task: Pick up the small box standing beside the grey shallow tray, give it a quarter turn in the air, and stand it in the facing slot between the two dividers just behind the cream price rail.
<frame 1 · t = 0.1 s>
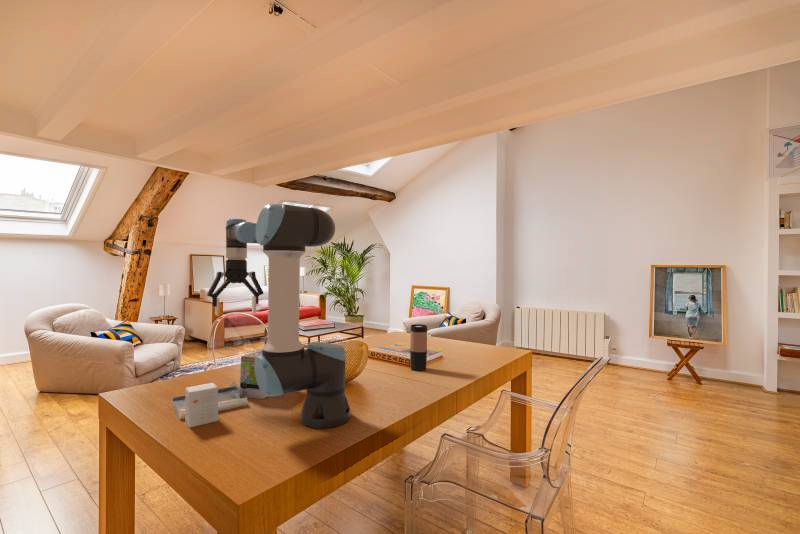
hand: (236, 313, 149), 28 cm above the table, fingers open, 13 cm apart
tea box: (263, 392, 143), on the table
small box: (201, 422, 116), on the table
travel mug: (418, 369, 176), on the table
grey shallow tray: (209, 405, 129), on the table
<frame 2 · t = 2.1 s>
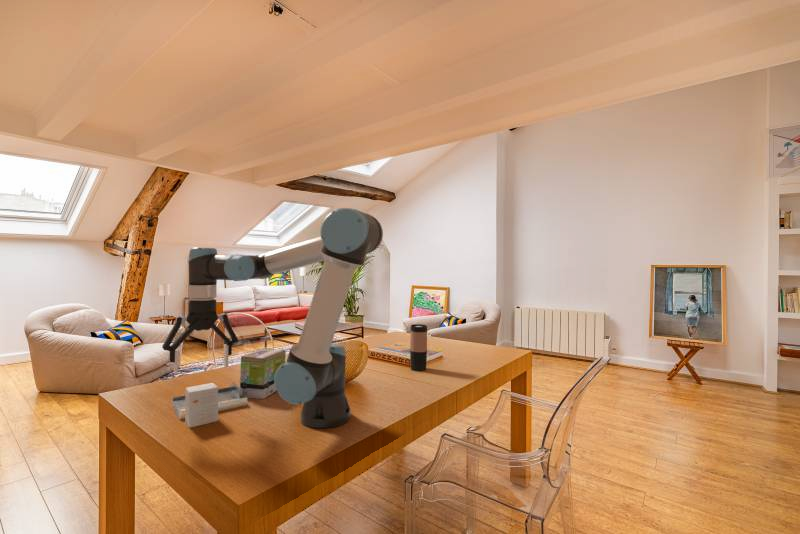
hand: (201, 369, 116), 16 cm above the table, fingers open, 13 cm apart
nothing on the table moved.
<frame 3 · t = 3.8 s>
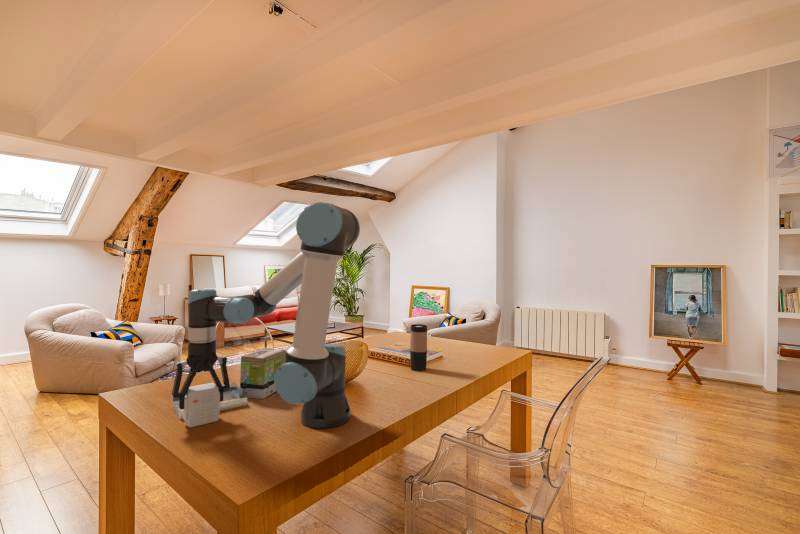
hand: (201, 415, 116), 2 cm above the table, fingers closed on small box, 8 cm apart
small box: (201, 422, 116), on the table, touching gripper
everything else where it was.
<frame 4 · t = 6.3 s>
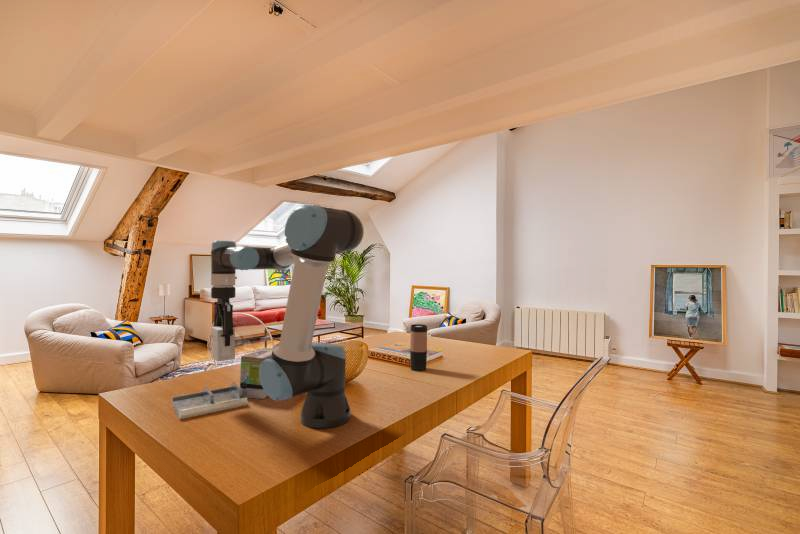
hand: (222, 353, 131), 17 cm above the table, fingers closed on small box, 8 cm apart
small box: (222, 359, 131), point 15 cm above the table, touching gripper
everything else where it was.
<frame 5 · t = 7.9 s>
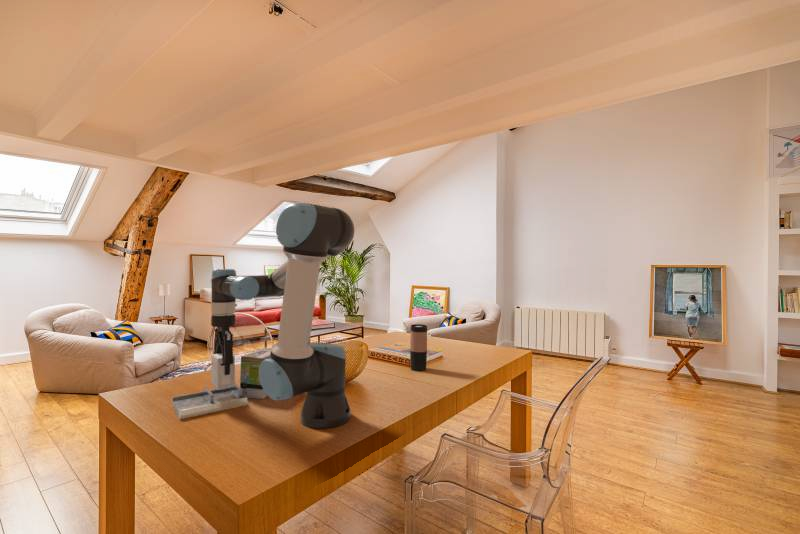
hand: (222, 380, 131), 8 cm above the table, fingers closed on small box, 8 cm apart
small box: (222, 386, 131), point 6 cm above the table, touching gripper
everything else where it was.
when the fingers open (5 cm above the table, at t = 8.9 s): small box drops 1 cm, resting on grey shallow tray.
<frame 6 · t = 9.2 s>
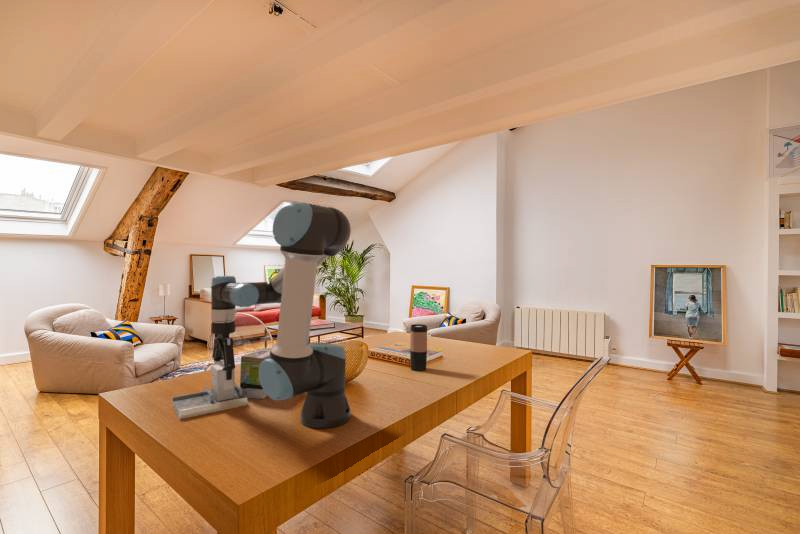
hand: (222, 384, 131), 6 cm above the table, fingers open, 12 cm apart
small box: (222, 397, 132), point 2 cm above the table, touching grey shallow tray
everything else where it was.
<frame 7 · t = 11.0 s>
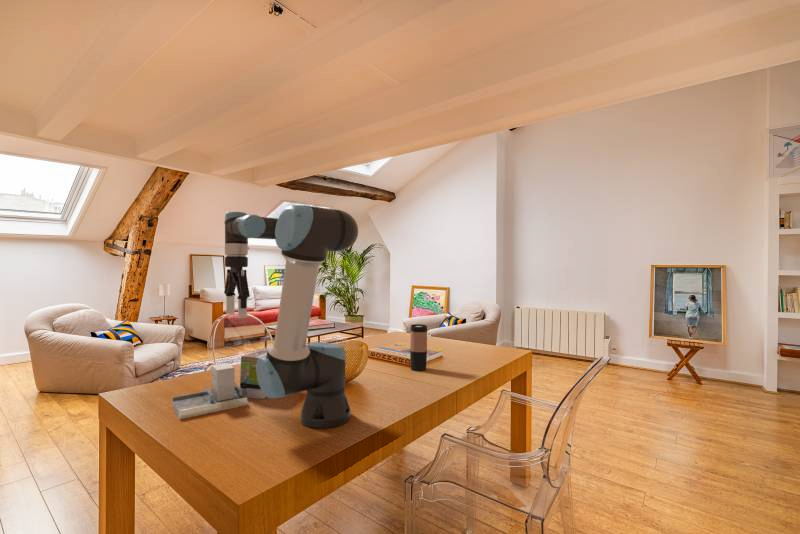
hand: (236, 315, 137), 29 cm above the table, fingers open, 13 cm apart
nothing on the table moved.
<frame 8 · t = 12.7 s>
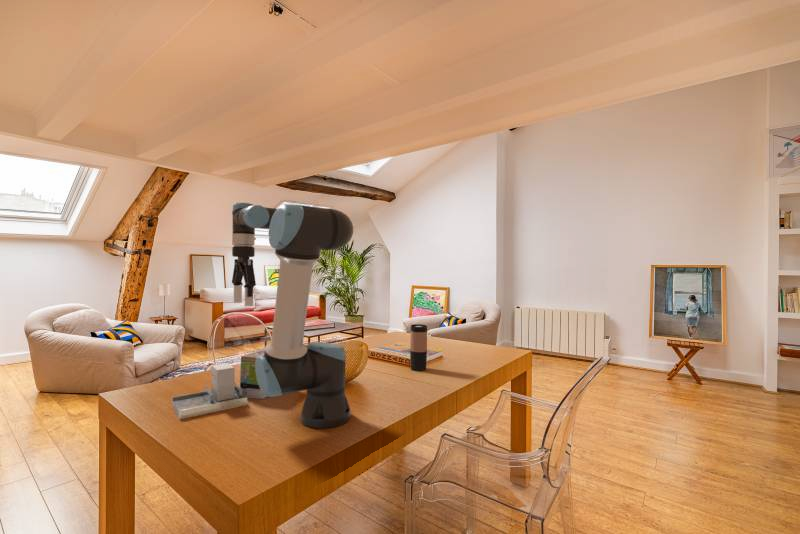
hand: (243, 304, 140), 33 cm above the table, fingers open, 13 cm apart
nothing on the table moved.
at the end: small box inside the target area on the grey shallow tray (0.0 cm from its centre), point 1.8 cm above the grey shallow tray's base; small box tilted 0°; the gripper is holding nothing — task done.
